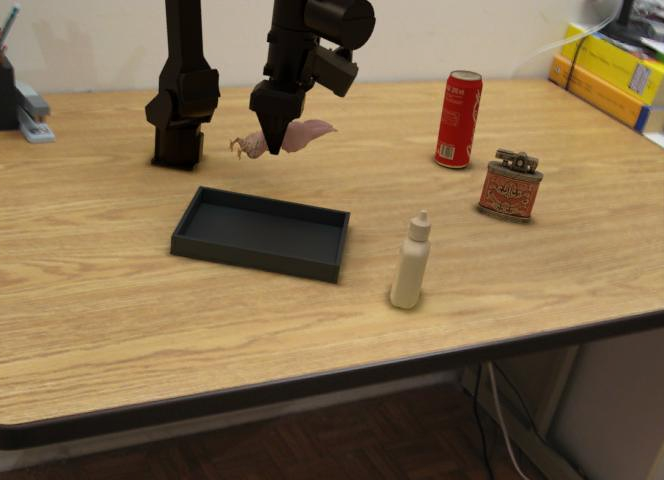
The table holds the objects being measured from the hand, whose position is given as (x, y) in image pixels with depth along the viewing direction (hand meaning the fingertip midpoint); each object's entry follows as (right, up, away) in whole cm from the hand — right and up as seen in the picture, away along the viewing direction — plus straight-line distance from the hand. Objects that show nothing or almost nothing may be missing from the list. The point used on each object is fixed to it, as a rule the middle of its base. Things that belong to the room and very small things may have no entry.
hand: (279, 143), depth 114 cm
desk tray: (-2, -13, +1) cm, 13 cm away
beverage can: (+28, +2, +32) cm, 42 cm away
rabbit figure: (+1, -1, +2) cm, 2 cm away
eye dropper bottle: (+15, -20, -7) cm, 26 cm away
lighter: (+33, -8, +17) cm, 38 cm away
